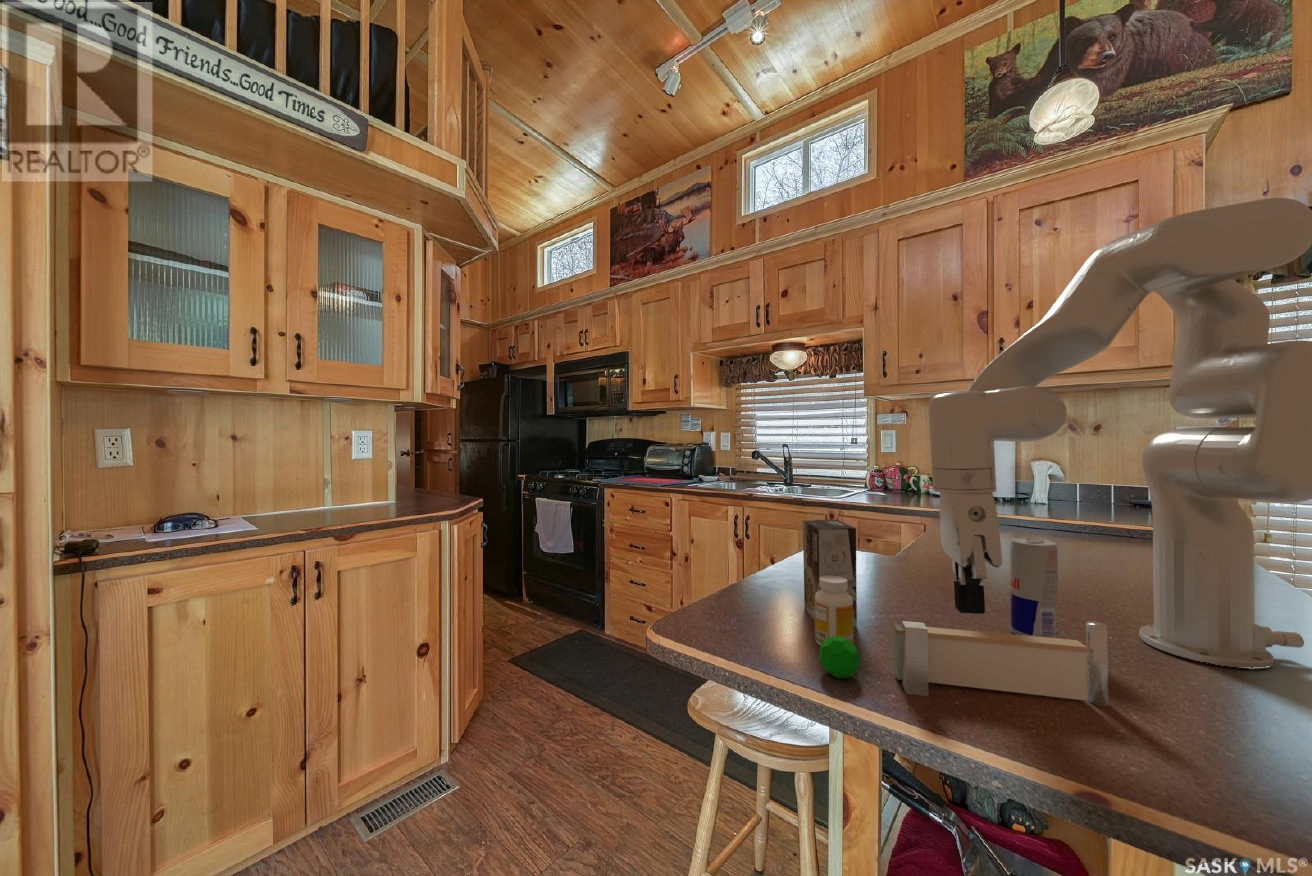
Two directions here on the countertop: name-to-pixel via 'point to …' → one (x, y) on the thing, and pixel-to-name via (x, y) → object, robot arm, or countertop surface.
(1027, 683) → the gate
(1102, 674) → the gate frame
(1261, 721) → the countertop surface
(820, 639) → the supplement bottle
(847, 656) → the polyhedron
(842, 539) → the coffee box
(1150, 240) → the robot arm
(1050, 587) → the beverage can
